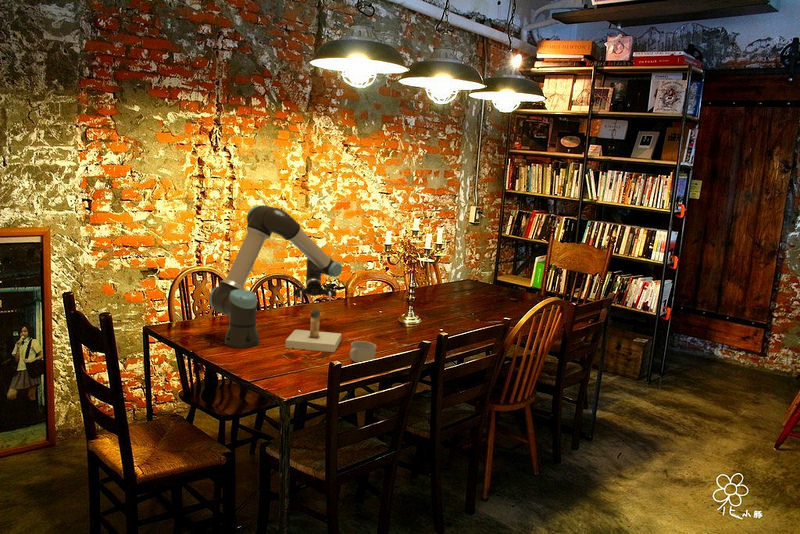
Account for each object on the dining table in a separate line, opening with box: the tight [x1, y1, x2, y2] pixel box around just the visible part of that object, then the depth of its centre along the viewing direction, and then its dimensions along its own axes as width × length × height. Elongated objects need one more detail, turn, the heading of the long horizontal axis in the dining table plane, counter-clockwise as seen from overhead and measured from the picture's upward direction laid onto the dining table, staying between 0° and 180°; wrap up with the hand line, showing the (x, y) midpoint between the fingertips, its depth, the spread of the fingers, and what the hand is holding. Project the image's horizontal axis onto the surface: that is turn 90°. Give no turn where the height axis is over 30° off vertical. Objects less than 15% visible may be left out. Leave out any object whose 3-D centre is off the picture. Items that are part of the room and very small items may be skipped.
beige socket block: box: [284, 329, 342, 353], centre depth 287 cm, size 22×18×4 cm
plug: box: [309, 308, 321, 339], centre depth 286 cm, size 4×4×16 cm
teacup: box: [349, 340, 377, 363], centre depth 265 cm, size 14×11×8 cm
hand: (315, 297), depth 293 cm, fingers open, 13 cm apart
